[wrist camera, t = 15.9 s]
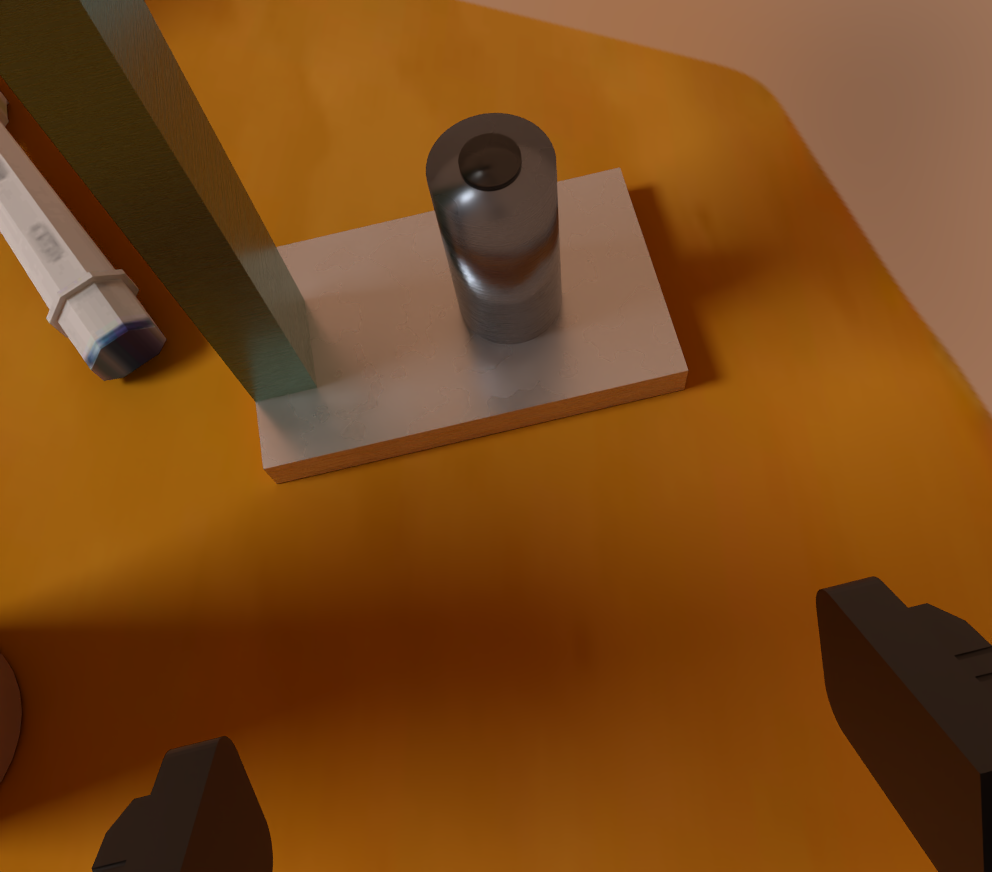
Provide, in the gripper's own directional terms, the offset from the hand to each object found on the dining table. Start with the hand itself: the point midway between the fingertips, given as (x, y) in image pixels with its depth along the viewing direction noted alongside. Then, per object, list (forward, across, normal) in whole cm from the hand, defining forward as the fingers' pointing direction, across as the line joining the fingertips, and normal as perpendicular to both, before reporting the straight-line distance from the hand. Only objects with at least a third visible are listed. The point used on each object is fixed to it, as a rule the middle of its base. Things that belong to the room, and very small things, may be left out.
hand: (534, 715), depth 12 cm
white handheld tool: (+45, +21, -6) cm, 50 cm away
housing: (+33, -3, +2) cm, 34 cm away
